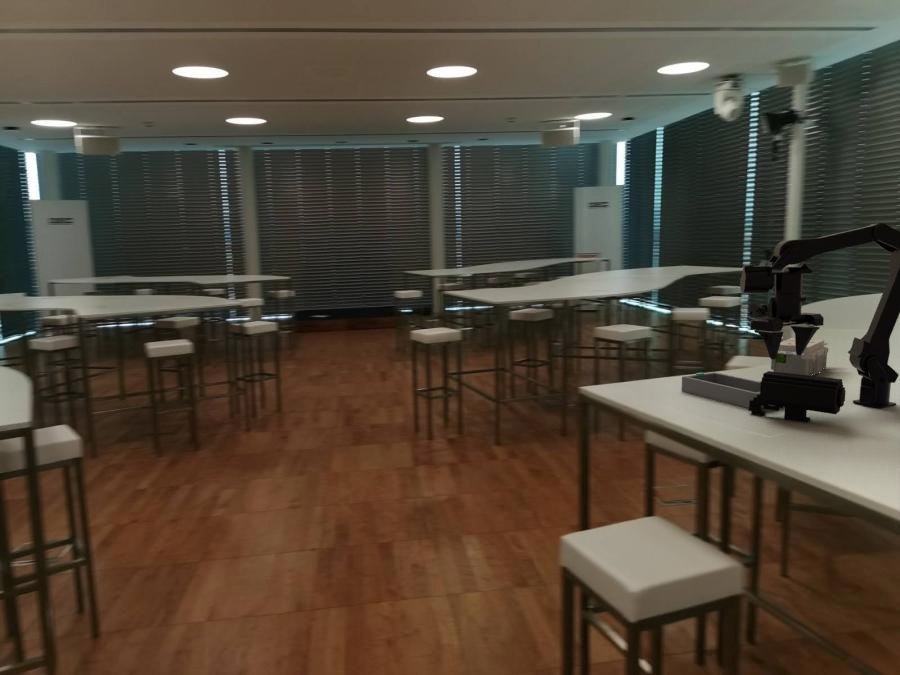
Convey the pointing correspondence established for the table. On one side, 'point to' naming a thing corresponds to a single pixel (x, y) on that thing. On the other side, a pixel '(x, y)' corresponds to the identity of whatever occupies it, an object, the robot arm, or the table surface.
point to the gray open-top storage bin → (722, 388)
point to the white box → (800, 358)
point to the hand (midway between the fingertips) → (786, 357)
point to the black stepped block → (798, 395)
